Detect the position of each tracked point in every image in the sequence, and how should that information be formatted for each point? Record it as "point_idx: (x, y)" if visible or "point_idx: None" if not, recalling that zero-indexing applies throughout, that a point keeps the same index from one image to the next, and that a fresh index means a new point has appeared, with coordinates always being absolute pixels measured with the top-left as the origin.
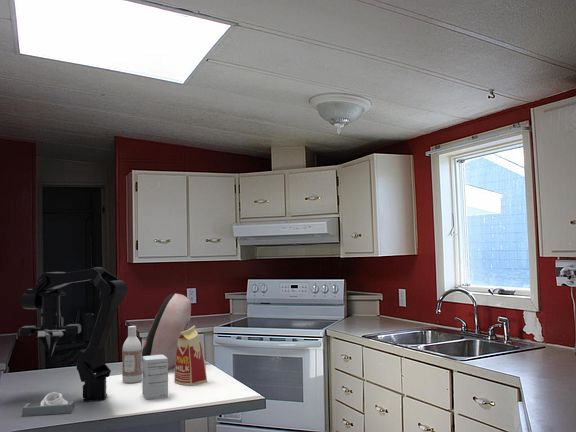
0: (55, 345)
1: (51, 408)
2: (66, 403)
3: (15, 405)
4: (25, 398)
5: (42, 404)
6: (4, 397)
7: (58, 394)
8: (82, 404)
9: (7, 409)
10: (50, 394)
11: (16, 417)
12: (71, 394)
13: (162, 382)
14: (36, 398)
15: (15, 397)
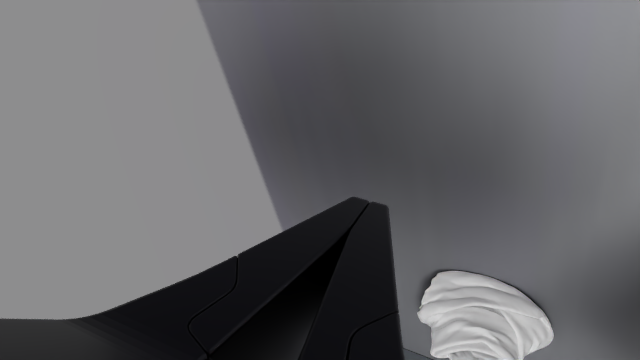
0: (398, 316)
1: None
2: (541, 347)
3: (305, 195)
4: (314, 79)
5: (427, 323)
6: (199, 8)
7: (499, 355)
8: (634, 341)
9: None
10: (456, 347)
11: None
12: (611, 93)
13: None
14: (374, 106)
15: (255, 32)
